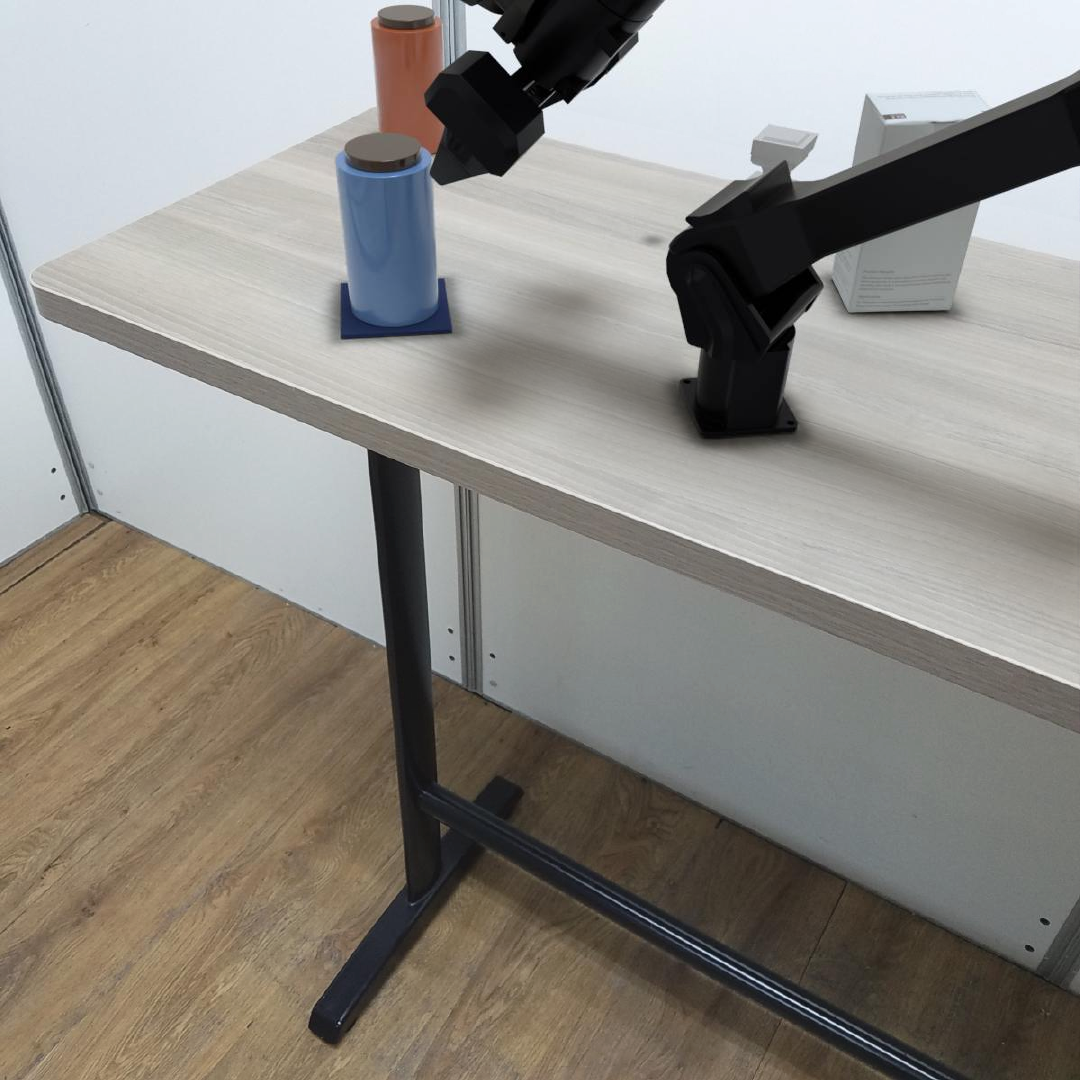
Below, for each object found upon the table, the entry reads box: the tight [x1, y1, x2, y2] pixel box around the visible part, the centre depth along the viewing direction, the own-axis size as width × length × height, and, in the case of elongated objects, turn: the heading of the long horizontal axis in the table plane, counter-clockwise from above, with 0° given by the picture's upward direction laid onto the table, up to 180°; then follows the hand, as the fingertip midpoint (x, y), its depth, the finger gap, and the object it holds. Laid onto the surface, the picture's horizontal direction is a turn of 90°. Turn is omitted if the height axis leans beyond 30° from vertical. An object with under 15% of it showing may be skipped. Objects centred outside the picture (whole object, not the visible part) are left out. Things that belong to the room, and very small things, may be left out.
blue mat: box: [340, 277, 453, 340], centre depth 81 cm, size 8×8×1 cm
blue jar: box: [334, 132, 439, 327], centre depth 77 cm, size 7×7×12 cm
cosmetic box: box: [831, 89, 993, 313], centre depth 79 cm, size 8×6×15 cm
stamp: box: [745, 123, 819, 181], centre depth 90 cm, size 9×7×8 cm
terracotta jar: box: [369, 4, 446, 155], centre depth 102 cm, size 7×7×12 cm
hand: (470, 148), depth 72 cm, fingers open, 9 cm apart
